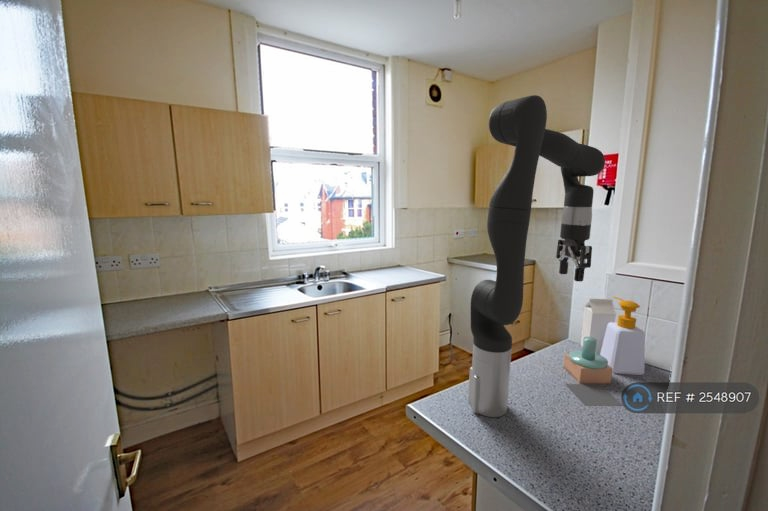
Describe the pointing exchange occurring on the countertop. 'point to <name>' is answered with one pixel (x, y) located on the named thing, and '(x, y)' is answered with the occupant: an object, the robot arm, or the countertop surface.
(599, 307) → the milk carton
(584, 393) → the mat
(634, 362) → the soap bottle
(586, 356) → the lid
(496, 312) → the robot arm
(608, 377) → the dish
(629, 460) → the countertop surface
